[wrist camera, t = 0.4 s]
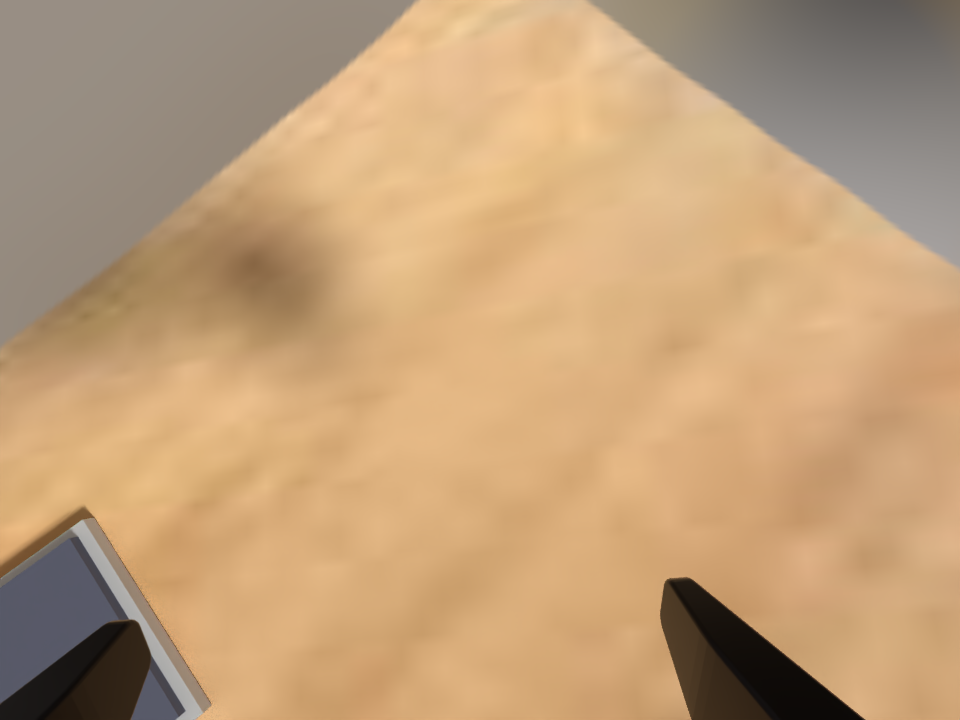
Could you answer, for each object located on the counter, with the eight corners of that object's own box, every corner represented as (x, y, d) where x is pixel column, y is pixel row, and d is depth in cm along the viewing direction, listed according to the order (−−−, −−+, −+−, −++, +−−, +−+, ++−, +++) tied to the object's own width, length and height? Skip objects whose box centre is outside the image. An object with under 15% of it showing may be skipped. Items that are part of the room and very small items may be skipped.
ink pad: (211, 705, 21) (196, 719, 20) (-1, 876, 20) (-30, 902, 19) (94, 517, 23) (73, 520, 21) (-113, 666, 21) (-146, 677, 20)
